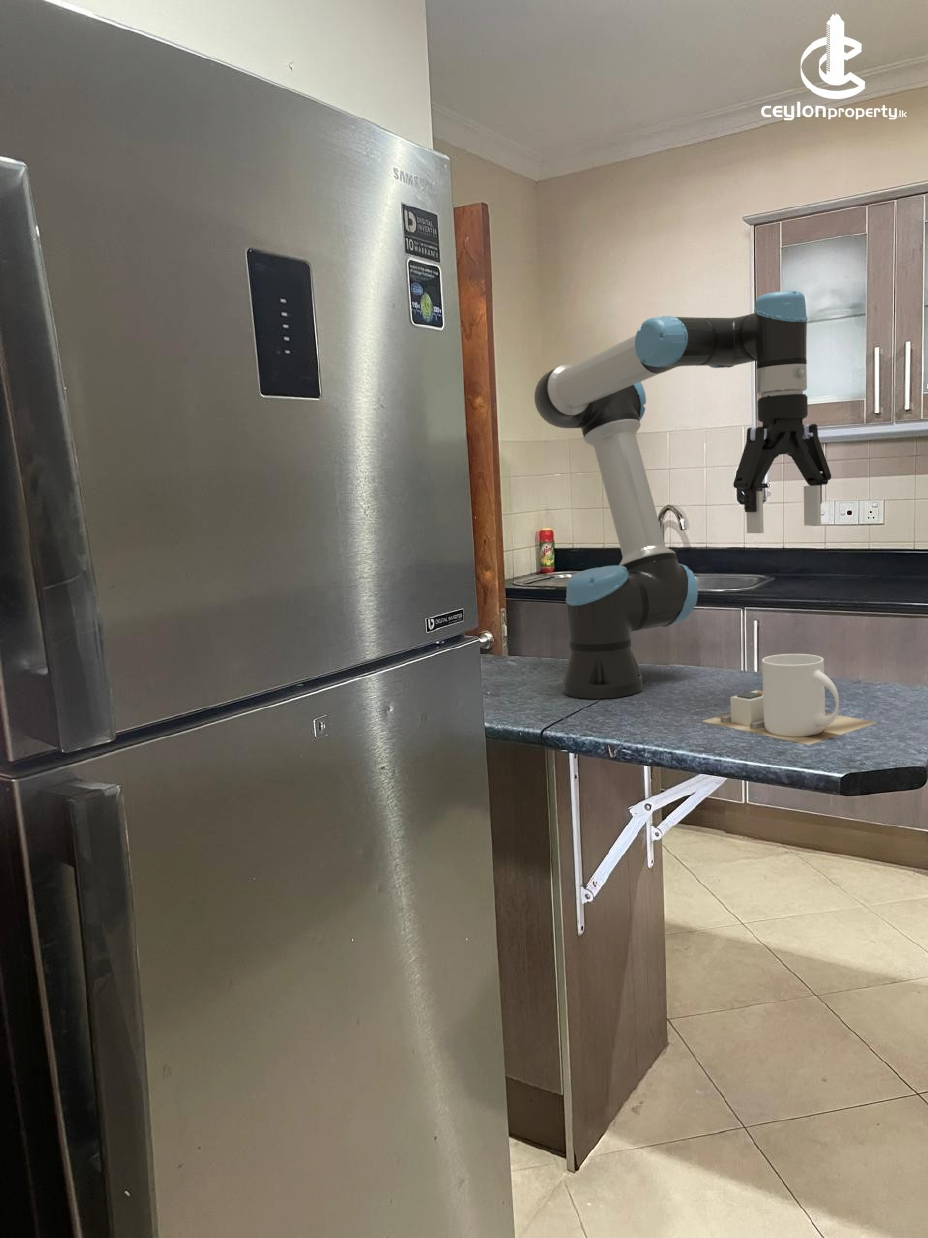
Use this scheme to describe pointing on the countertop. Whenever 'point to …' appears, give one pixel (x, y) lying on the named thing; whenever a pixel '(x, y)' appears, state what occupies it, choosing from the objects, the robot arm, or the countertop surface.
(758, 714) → the block
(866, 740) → the countertop surface
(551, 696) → the countertop surface
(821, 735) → the subfloor panel
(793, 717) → the mug
